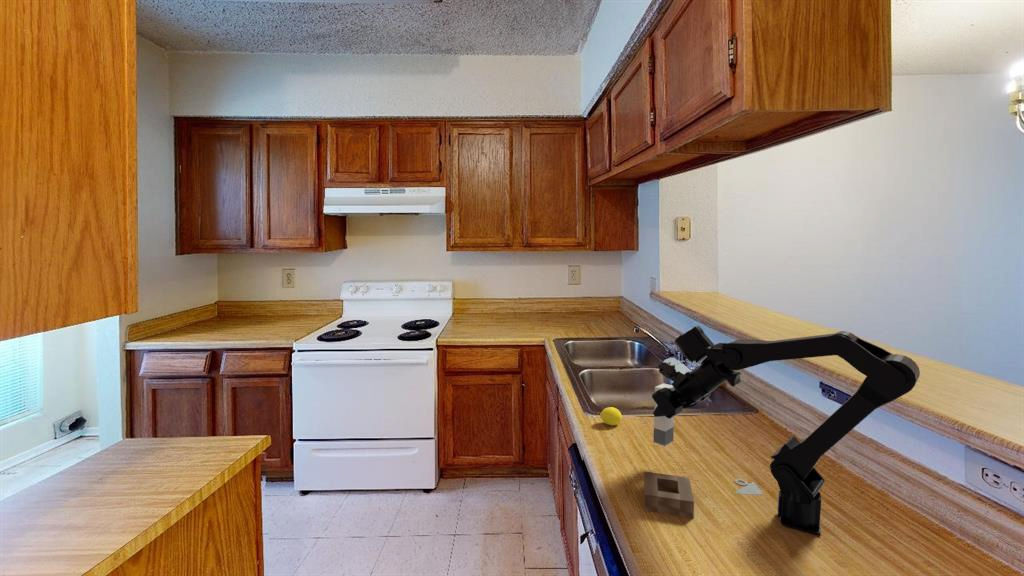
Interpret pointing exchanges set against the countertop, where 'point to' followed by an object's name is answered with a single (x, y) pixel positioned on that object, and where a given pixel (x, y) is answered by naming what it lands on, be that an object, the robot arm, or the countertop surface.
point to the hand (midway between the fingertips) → (658, 412)
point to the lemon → (611, 416)
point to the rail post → (663, 424)
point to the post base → (668, 494)
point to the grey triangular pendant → (748, 488)
